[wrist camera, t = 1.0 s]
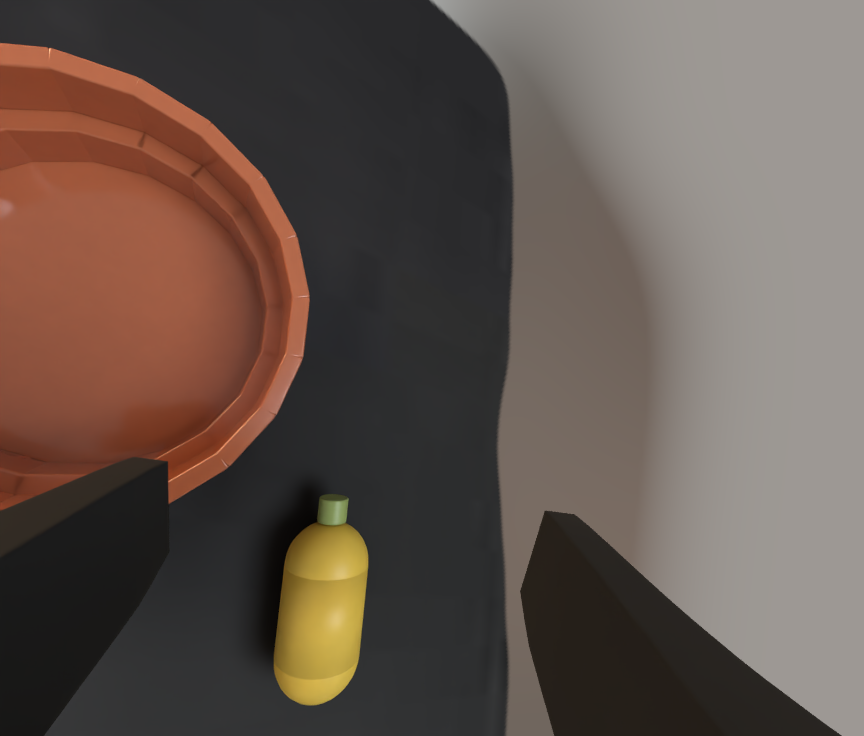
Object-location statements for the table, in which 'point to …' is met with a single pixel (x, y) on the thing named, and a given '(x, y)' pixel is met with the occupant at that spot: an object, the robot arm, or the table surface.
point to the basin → (133, 281)
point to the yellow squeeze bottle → (321, 606)
